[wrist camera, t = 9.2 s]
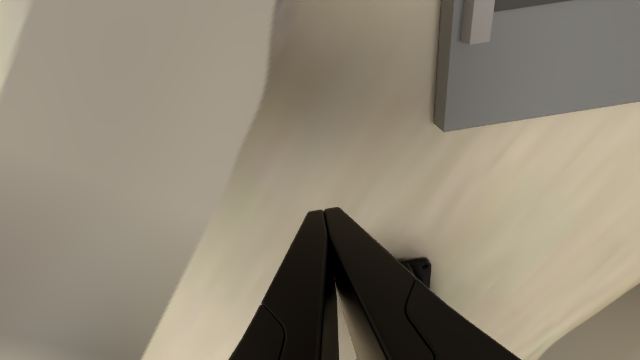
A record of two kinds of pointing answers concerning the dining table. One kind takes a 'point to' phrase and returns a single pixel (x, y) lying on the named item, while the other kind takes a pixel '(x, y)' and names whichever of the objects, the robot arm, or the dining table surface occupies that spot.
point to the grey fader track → (534, 59)
